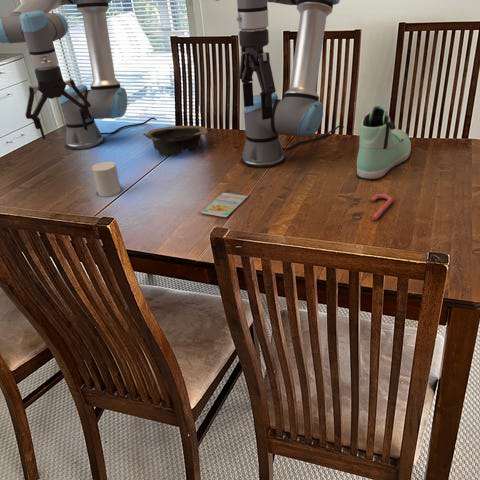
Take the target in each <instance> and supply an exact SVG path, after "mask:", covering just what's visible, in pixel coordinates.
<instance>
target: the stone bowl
mask: <svg viewBox="0 0 480 480" xmlns="http://www.w3.org/2000/svg"><path fill="white" fill-rule="evenodd" d="M207 133H208V128H206V127H204V126H199V125H173V126H165V127H159V128H154V129H151V130H149V131H148V132H146V133H143V136H145V137H146V138H147V139H149V140H150V141H152V145H153V148H154V150H156V151H157V153H158V155H159V156H161V157H171V156H178V155H181V154H182V152H184V151H189V152H193V151H197V150H198V148H199V146H200V140H201V135H206V134H207Z"/></svg>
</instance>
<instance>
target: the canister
mask: <svg viewBox="0 0 480 480" xmlns="http://www.w3.org/2000/svg"><path fill="white" fill-rule="evenodd" d="M91 170H92V174H93V178H94V182H95V186H96V190H97V195H99V196H100V197H112V196H115V195H118V194H119V193H120V192H121V191H122V187H121V183H120V180H119V175H118V169H117V165H116V163H115V162H114V161H102V162H98V163H95V164H94V165H92V167H91Z"/></svg>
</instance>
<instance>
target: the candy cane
mask: <svg viewBox="0 0 480 480" xmlns="http://www.w3.org/2000/svg"><path fill="white" fill-rule="evenodd" d="M379 199H384V200H386V201H385V203H383V205H382V206H381V207H380V208H378V210H377V211H376V212H375V213H374V214H373V215H372V216H371V219H372V220H373V221H377V220H378V219H379V217H381V215H383V213H384V212H385V211H386V210H387V209H388V208H389V207H390V206H391V205H392V203H393V202H394V198H393V197H392V195H389V194H386V193H376V194H374V195H372V197H371V201H372V202H373V203H374V202H377V200H379Z"/></svg>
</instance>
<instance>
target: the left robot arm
mask: <svg viewBox="0 0 480 480" xmlns="http://www.w3.org/2000/svg"><path fill="white" fill-rule="evenodd" d="M112 1H113V0H24V1H23V2H21V3H20V4H19V5H18V6H17V7H16V8H15V9H14V10H12V12H10V13H9V14H8V15H7V16H5V17H3V16H0V44H10V45H11V44H18V43H20V44H21V43H26V46H27V49H28V54H29V57H30V60H31V64H32V67H33V68H34V74H35V78H36V81H37V86H32V85H29V86H28V93H29V95H28V99H27V104H26V110H25V114H24V115H25V117H26V119H27V120H32V122H33V125H34V128H35V129H36V130H39V131H40V134H41V136H42V140H46V135H45V132H44V129H43V125H42V123H41V119H40V117H39V115H40V113H41V111H42V109H43V107H44V105H45V103H46V102H47V100H48V99H50V100H52V99H55V98H58V100H59V105H60V108H61V113H62V116H63V119H64V123H65V126H66V133H65V144H66V148H68V149H70V150H85V149H92V148H94V147H97V146H99V145H102V143H104V135H107V136H108V135H114V134H116V133H117V132H119V131H120V130H123V129H125V128H130V127H136V126H142V125H145V124H148V122H150V121H152V120H154V121H157V118H155V117H150V118H148V119H147V120H145V121H143V122H139V123H133V124H127V125H123V126H120V127H119V128H116V130H113V131H111V132H101V130H100V129H99V127H98V125H97V124H96V121H95V120H101V119H102V120H103V119H104V120H105V119H112V120H113V119H119V118H123V117H124V116H125V114H126V112H127V109H128V94H127V90H126V88H124V87H122V86H121V82H119V80H118V79H116V74H115V67H114V60H113V54H112V46H111V40H110V34H109V27H108V21H107V14H106V13H107V11H108V10H109V8H110V7H109V3H111V2H112ZM69 5H70V6H71V5H72V6H73V5H76V10H77V11H79V12H80V14H81V15H82V21H83V22H82V23H83V28H84V32H85V33H84V34H85V39H86V44H87V50H88V57H89V62H90V68H91V75H92V82H91V83H90V89H88V86H87V85H85V84H80V85H76V83H75V80H74V79H73V78H69V80H66V81H65V80H64V78H63V74H62V70H61V67H60V66H59V60H58V55H57V52H56V48H55V44H54V42H55V41H58V40H61V39H63V38H64V37H65V36H66V35H67V34H68V31H69V23H68V22H67V19H66V17H64V16H63V15H62V14H61V13H59V12H52V11H53V10H56V9H59V7H60V6H61V7H62V6H69ZM67 86H68V87H67ZM38 91H39V93H41V96H40V97H39V100H38V102H37V104H36V106H35V108H34V110H33V105H34V101H35V95H36V94H37V93H38ZM32 110H33V112H32Z"/></svg>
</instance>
